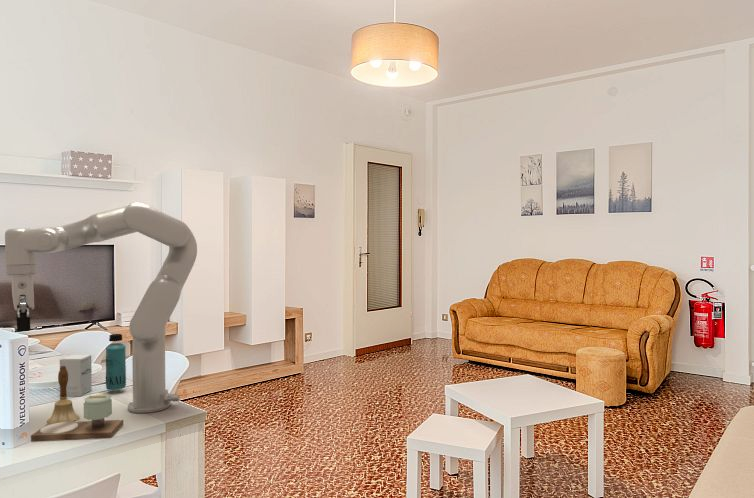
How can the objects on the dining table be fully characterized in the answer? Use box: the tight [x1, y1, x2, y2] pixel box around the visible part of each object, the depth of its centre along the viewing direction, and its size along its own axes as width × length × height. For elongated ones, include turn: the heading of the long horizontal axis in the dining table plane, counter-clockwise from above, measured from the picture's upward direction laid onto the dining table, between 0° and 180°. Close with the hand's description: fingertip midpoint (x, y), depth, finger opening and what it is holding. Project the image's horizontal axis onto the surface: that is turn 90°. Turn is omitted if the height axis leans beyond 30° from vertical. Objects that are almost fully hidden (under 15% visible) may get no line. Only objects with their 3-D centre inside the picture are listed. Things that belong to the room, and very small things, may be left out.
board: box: [30, 419, 124, 442], centre depth 153 cm, size 20×10×2 cm, turn 97°
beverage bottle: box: [105, 333, 127, 391], centre depth 192 cm, size 6×7×20 cm
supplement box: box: [59, 354, 93, 397], centre depth 190 cm, size 7×7×13 cm
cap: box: [83, 393, 113, 421], centre depth 153 cm, size 6×6×6 cm
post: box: [90, 418, 105, 429], centre depth 153 cm, size 3×3×7 cm
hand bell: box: [46, 366, 80, 424], centre depth 163 cm, size 8×8×16 cm
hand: (23, 328), depth 164 cm, fingers open, 9 cm apart
